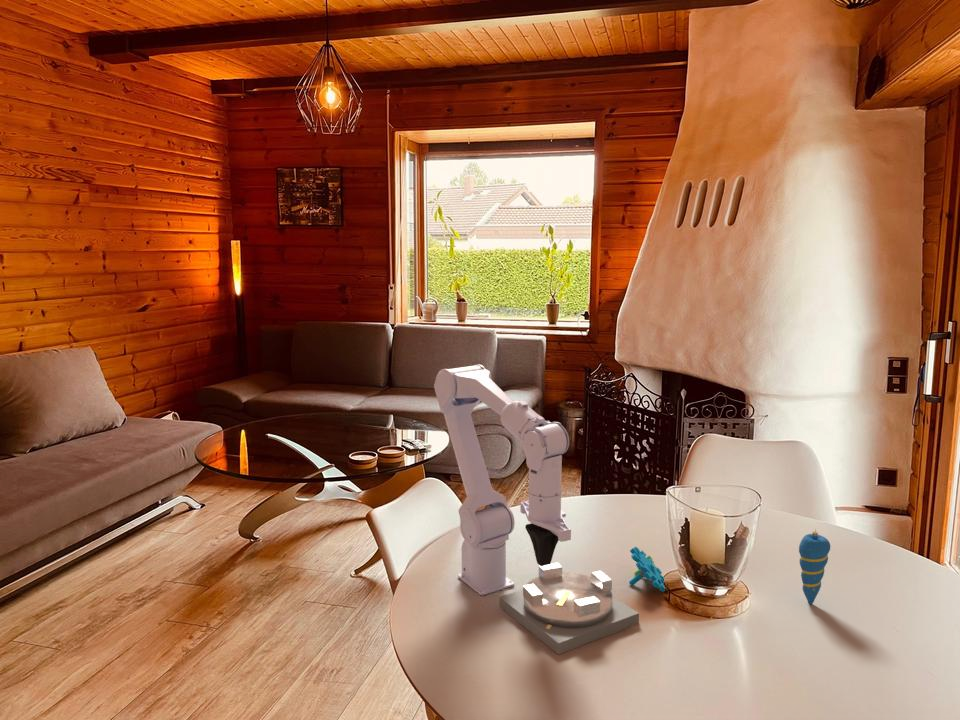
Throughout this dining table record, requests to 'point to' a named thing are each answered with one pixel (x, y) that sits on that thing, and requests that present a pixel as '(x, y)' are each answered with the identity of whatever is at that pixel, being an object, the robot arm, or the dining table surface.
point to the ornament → (813, 563)
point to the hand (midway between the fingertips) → (543, 563)
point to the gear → (646, 569)
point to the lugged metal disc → (568, 597)
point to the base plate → (568, 637)
